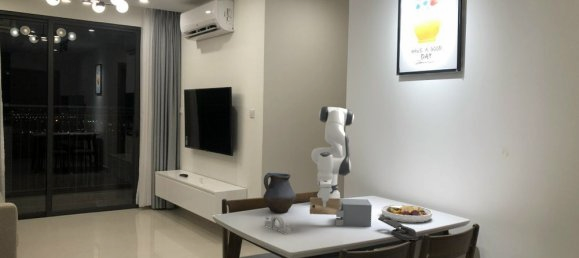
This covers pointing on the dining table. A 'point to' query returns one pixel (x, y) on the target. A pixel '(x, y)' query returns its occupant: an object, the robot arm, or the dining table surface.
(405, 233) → the dark grey clamp
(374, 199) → the dining table surface
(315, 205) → the cabinet door
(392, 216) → the bowl
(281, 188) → the pitcher
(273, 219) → the gateway
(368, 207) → the cabinet
